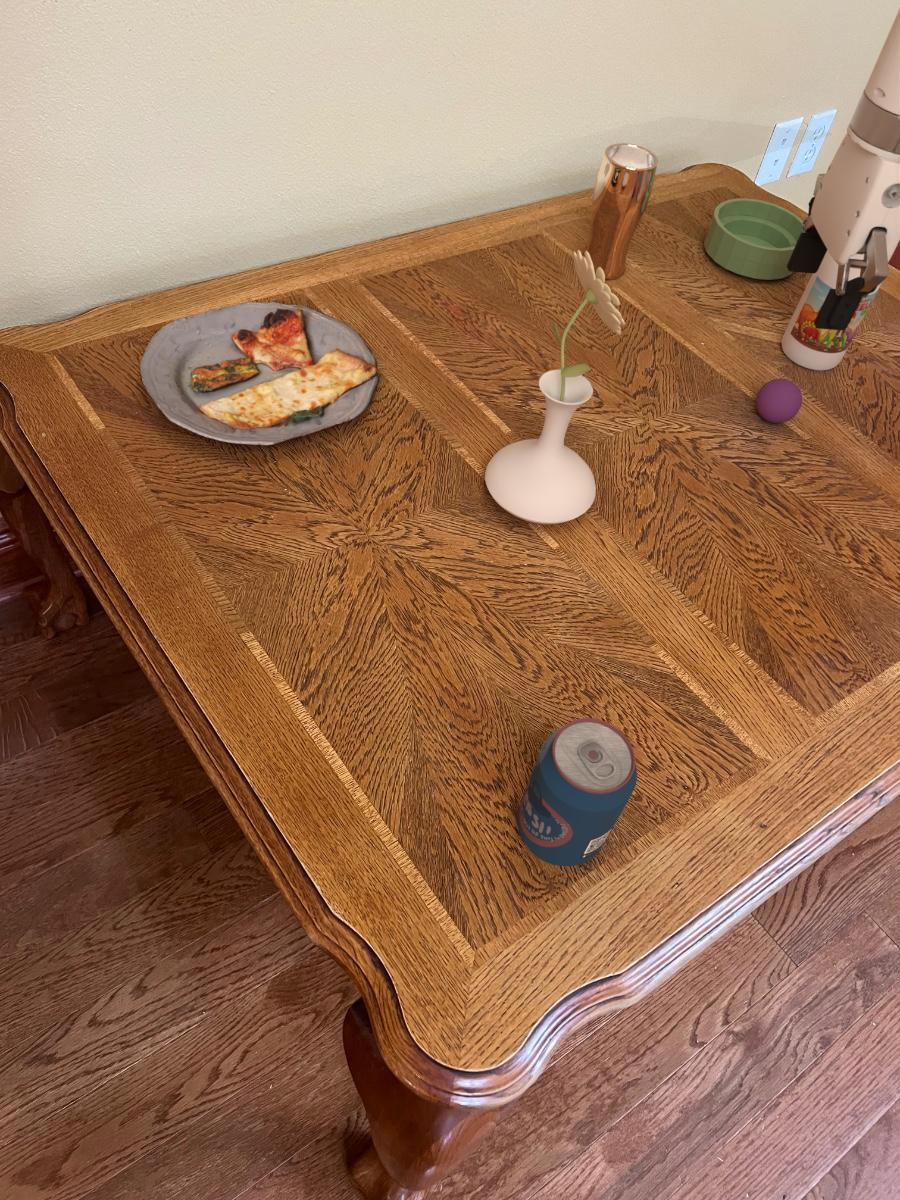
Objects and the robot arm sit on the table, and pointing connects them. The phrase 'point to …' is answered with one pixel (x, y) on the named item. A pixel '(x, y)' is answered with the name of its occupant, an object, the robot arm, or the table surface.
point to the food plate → (259, 372)
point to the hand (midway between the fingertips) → (814, 298)
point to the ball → (778, 400)
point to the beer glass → (619, 205)
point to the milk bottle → (801, 334)
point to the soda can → (577, 791)
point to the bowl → (753, 238)
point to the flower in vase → (555, 430)
